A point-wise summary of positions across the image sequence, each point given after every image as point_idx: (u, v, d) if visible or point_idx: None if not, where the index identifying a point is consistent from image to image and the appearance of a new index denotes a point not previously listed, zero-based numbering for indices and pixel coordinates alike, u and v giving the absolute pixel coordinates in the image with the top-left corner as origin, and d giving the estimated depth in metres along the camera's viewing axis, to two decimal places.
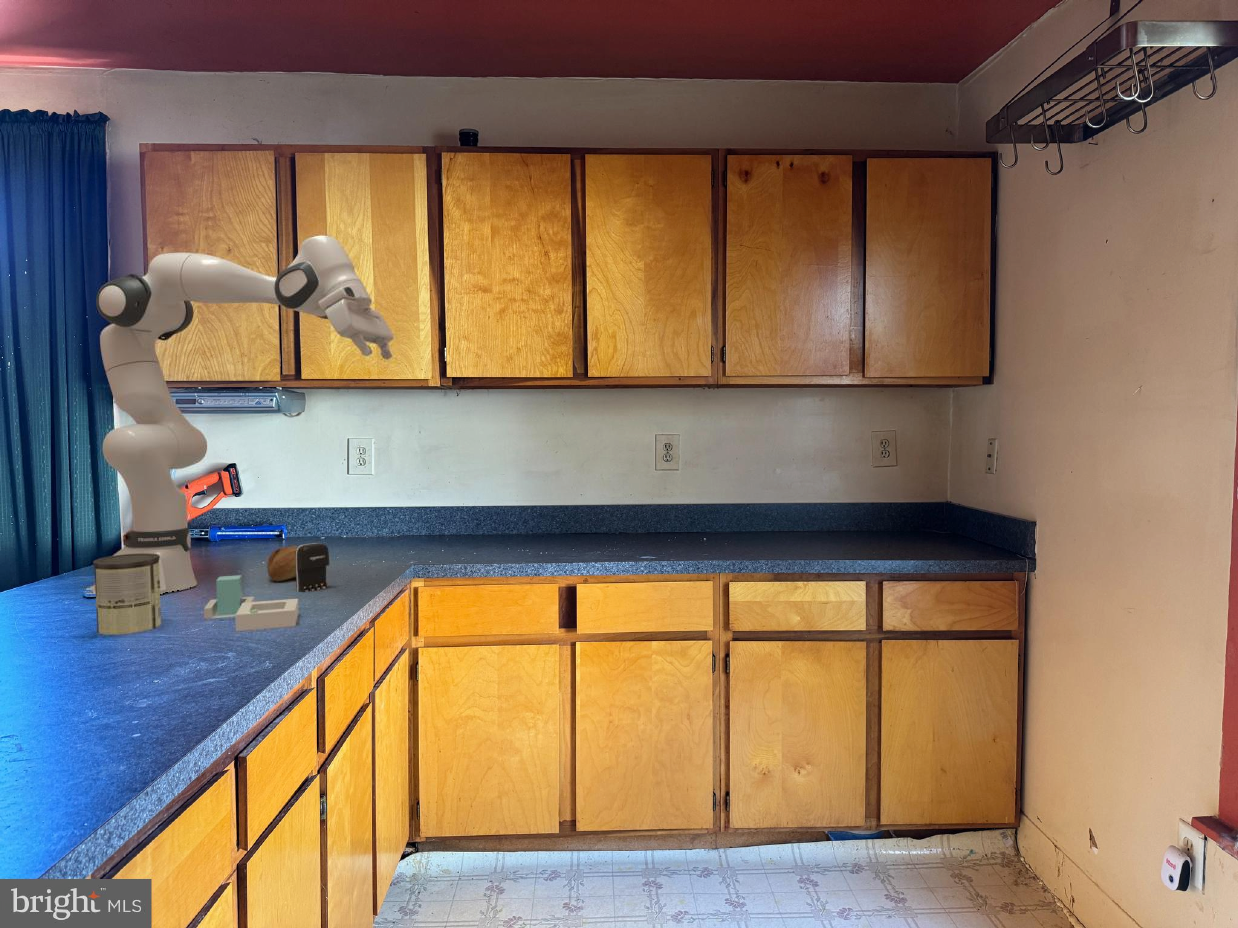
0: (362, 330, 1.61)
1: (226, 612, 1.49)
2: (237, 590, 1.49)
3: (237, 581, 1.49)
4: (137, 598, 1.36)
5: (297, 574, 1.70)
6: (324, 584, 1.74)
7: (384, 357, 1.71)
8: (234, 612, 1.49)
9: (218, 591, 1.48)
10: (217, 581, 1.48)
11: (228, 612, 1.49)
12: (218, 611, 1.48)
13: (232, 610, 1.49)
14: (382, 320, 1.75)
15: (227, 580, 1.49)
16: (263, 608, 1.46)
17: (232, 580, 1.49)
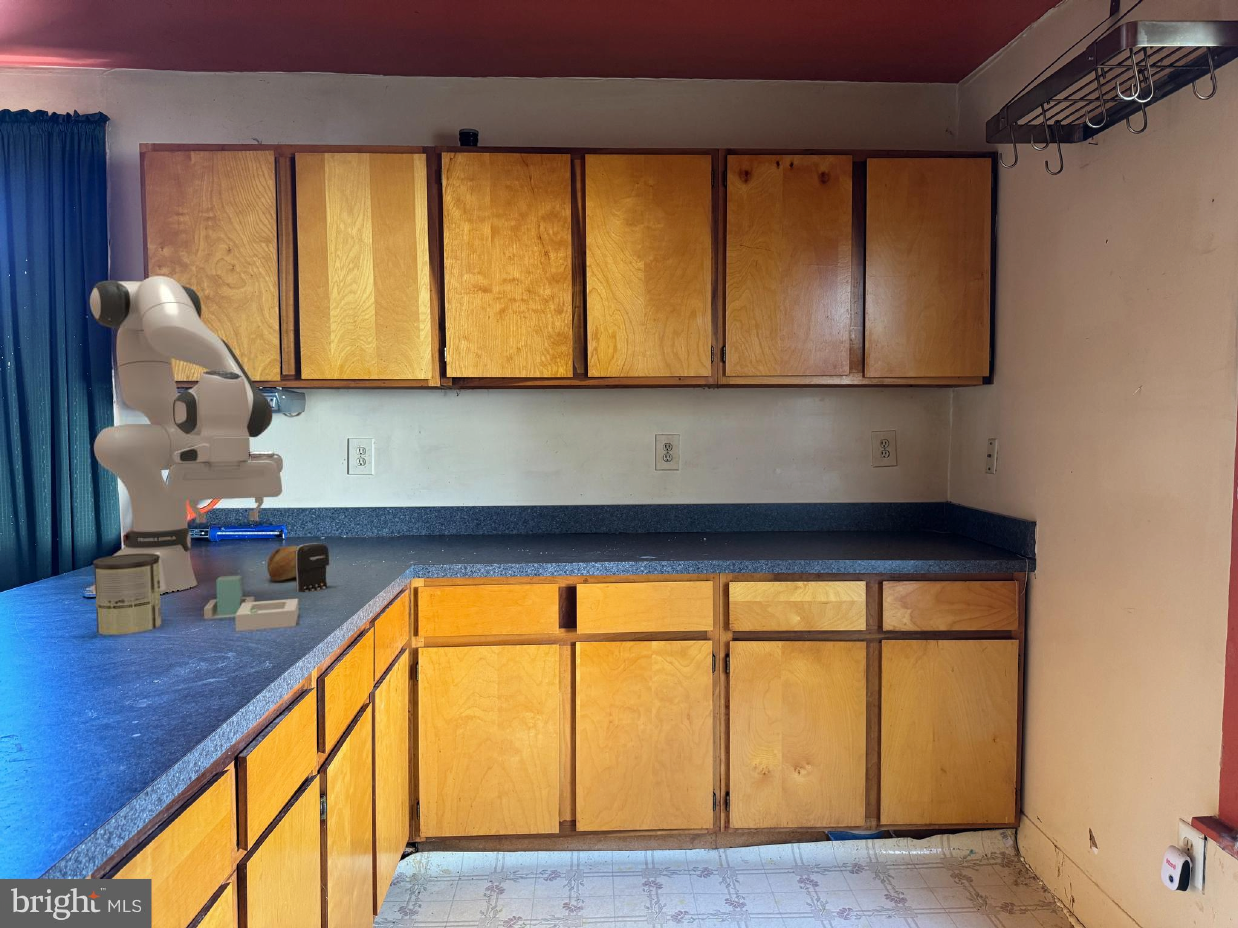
0: (194, 498, 1.46)
1: (226, 612, 1.49)
2: (237, 590, 1.49)
3: (237, 581, 1.49)
4: (137, 598, 1.36)
5: (297, 574, 1.70)
6: (324, 584, 1.74)
7: None
8: (234, 612, 1.49)
9: (218, 591, 1.48)
10: (217, 581, 1.48)
11: (228, 612, 1.49)
12: (218, 611, 1.48)
13: (232, 610, 1.49)
14: (269, 474, 1.51)
15: (227, 580, 1.49)
16: (263, 608, 1.46)
17: (232, 580, 1.49)
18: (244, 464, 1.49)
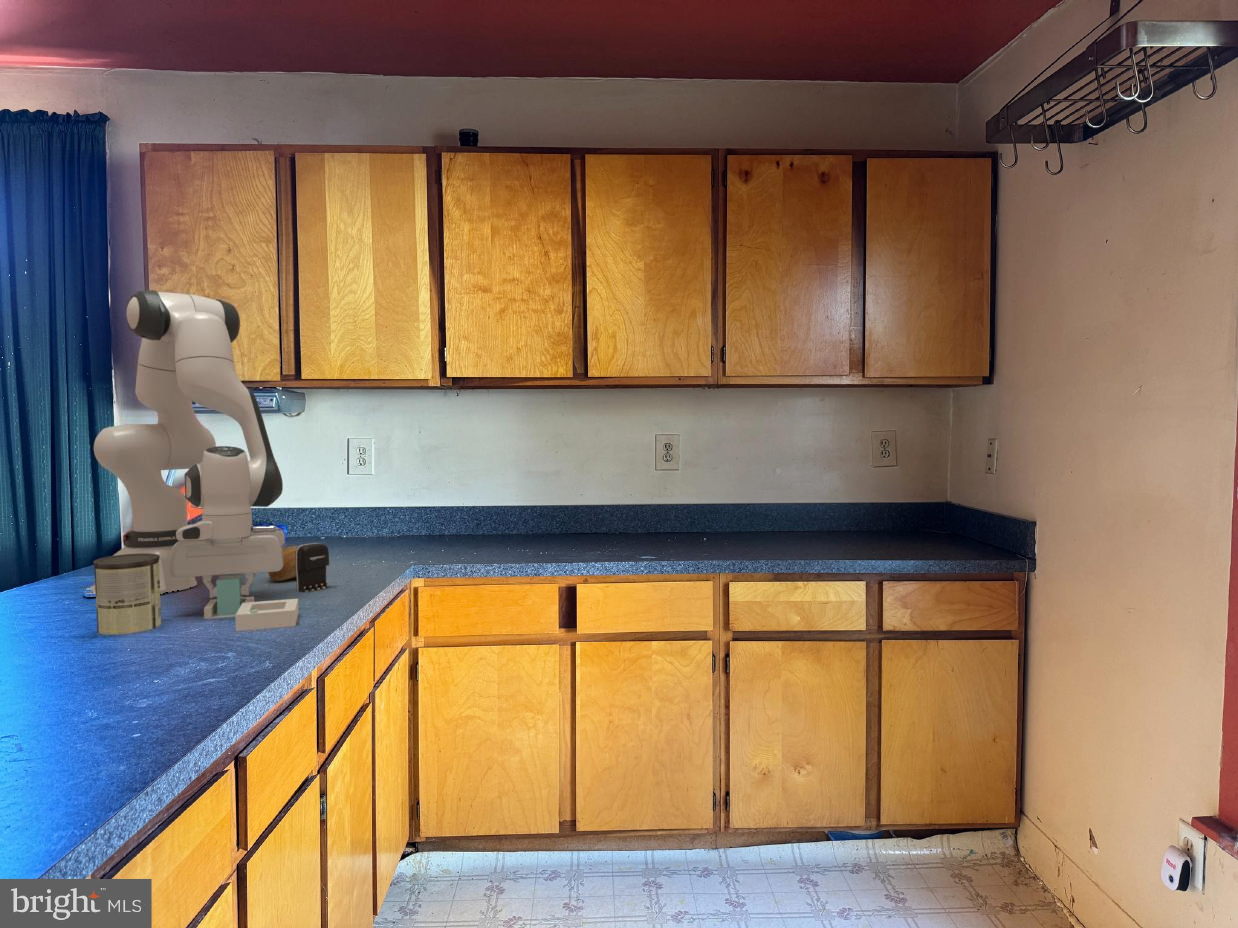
0: (196, 575, 1.47)
1: (226, 612, 1.49)
2: (237, 590, 1.49)
3: (237, 581, 1.49)
4: (137, 598, 1.36)
5: (297, 574, 1.70)
6: (324, 584, 1.74)
7: None
8: (234, 612, 1.49)
9: (218, 591, 1.48)
10: (217, 581, 1.48)
11: (228, 612, 1.49)
12: (218, 611, 1.48)
13: (232, 610, 1.49)
14: (271, 548, 1.51)
15: (227, 580, 1.49)
16: (263, 608, 1.46)
17: (232, 580, 1.49)
18: (246, 540, 1.50)
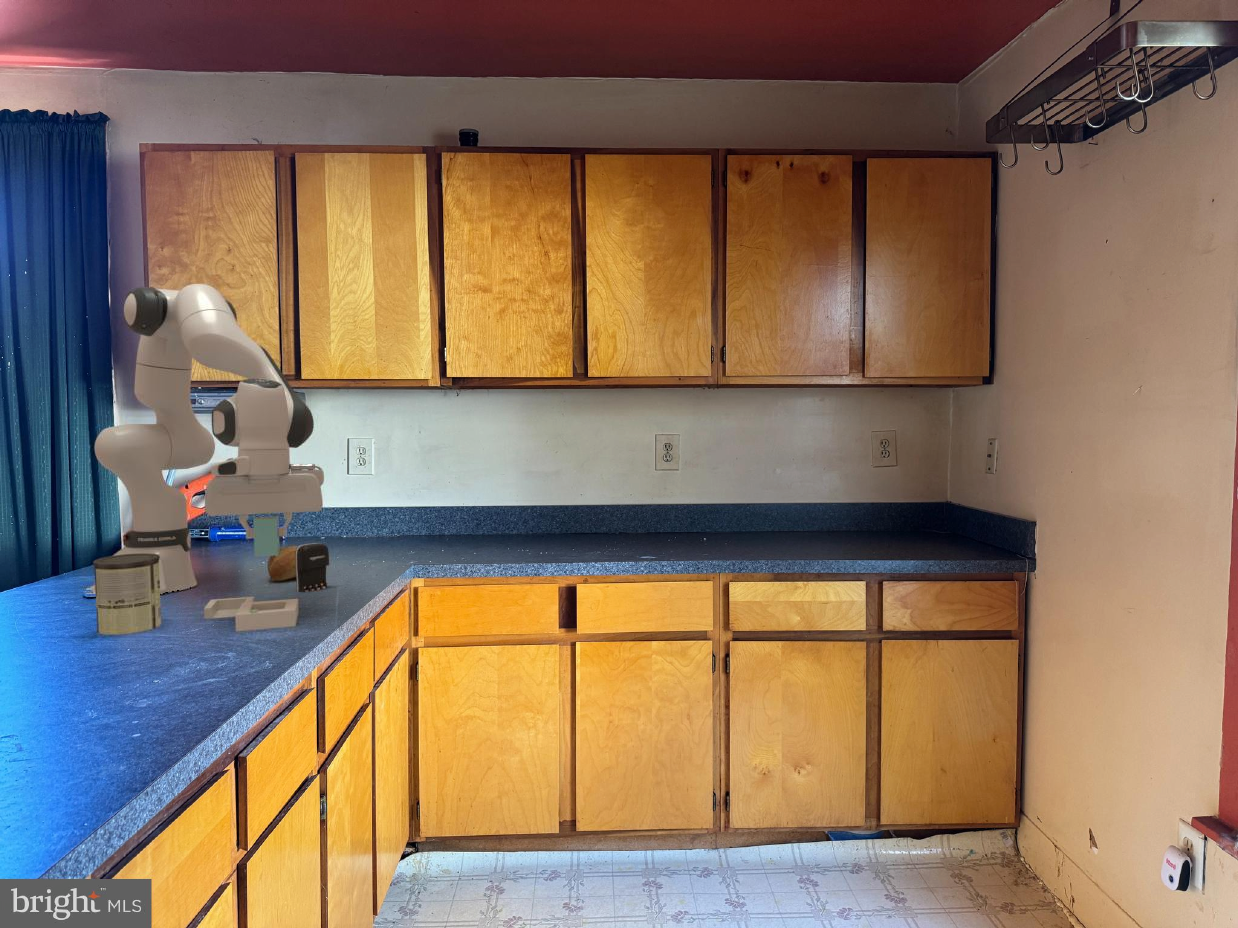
0: (232, 513, 1.39)
1: (263, 553, 1.41)
2: (275, 530, 1.41)
3: (275, 521, 1.41)
4: (137, 598, 1.36)
5: (297, 574, 1.70)
6: (324, 584, 1.74)
7: None
8: (272, 554, 1.41)
9: (255, 531, 1.40)
10: (254, 520, 1.40)
11: (266, 553, 1.41)
12: (255, 552, 1.40)
13: (270, 552, 1.41)
14: (310, 487, 1.43)
15: (264, 519, 1.40)
16: (263, 608, 1.46)
17: (270, 519, 1.41)
18: (284, 477, 1.41)
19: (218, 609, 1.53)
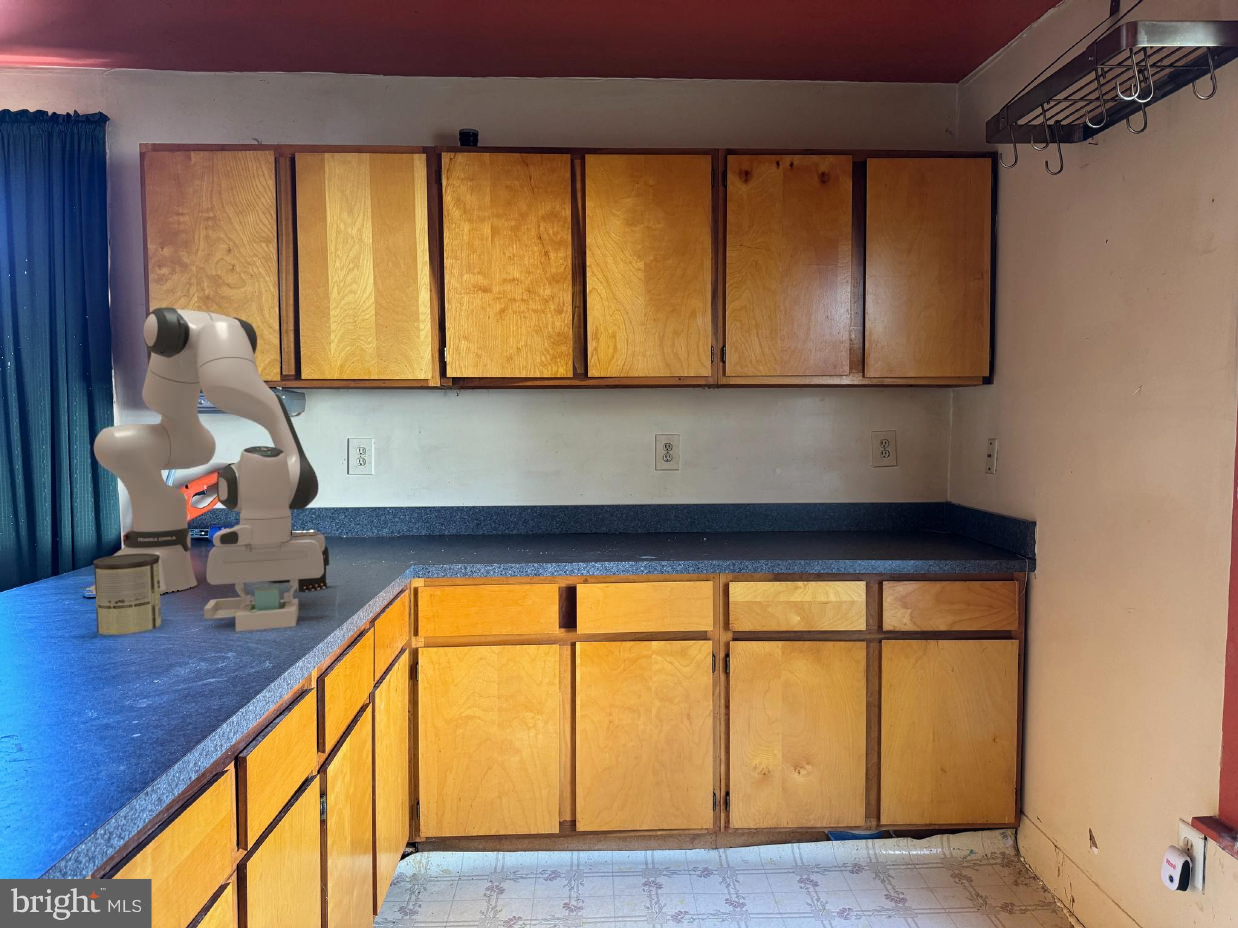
0: (234, 582, 1.40)
1: None
2: (276, 601, 1.42)
3: (276, 592, 1.42)
4: (137, 598, 1.36)
5: None
6: (324, 584, 1.74)
7: None
8: None
9: (256, 602, 1.41)
10: (255, 592, 1.41)
11: None
12: None
13: None
14: (312, 554, 1.44)
15: (266, 591, 1.41)
16: None
17: (271, 591, 1.41)
18: (286, 545, 1.42)
19: (218, 609, 1.53)
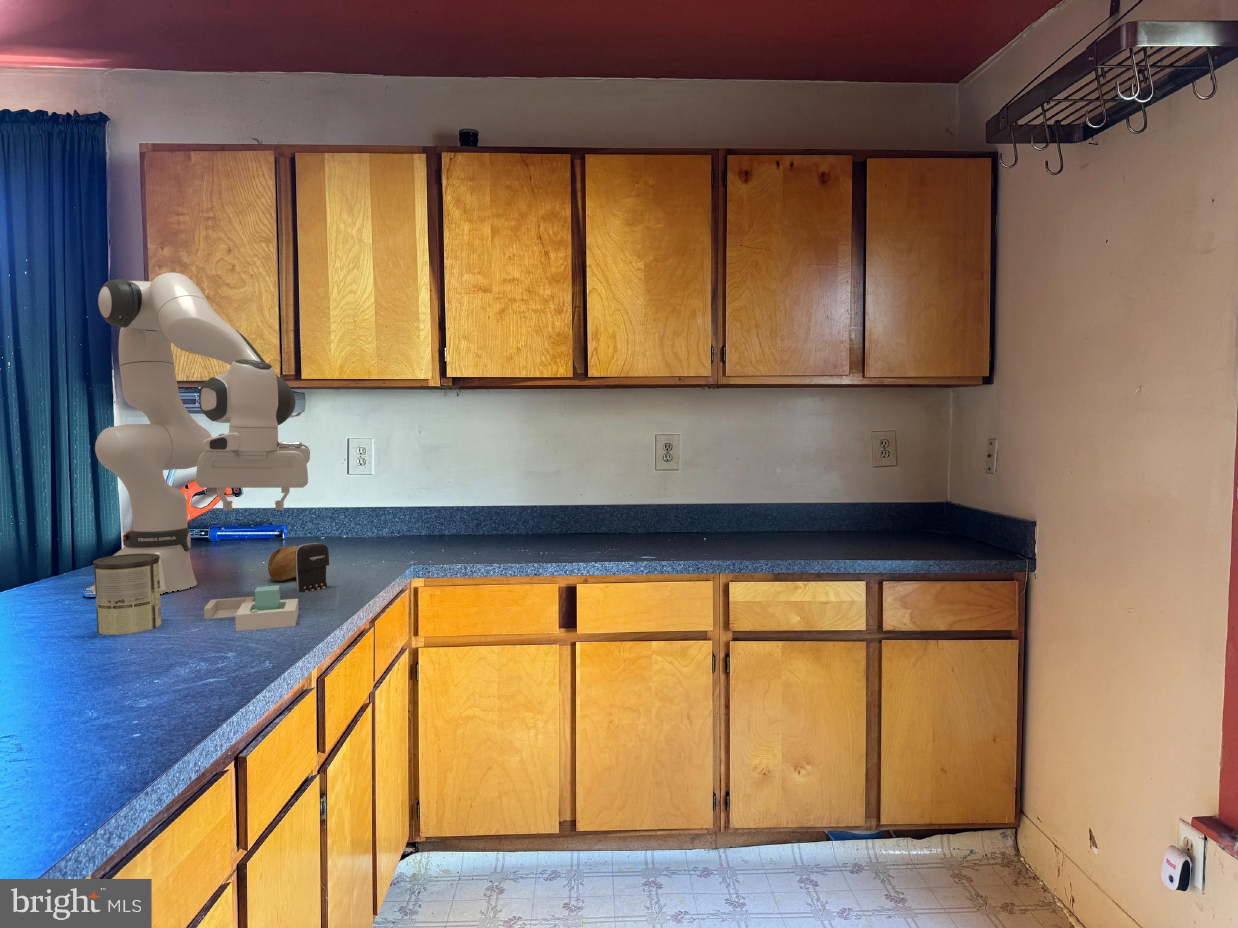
0: (222, 486, 1.47)
1: None
2: (276, 601, 1.42)
3: (276, 592, 1.42)
4: (137, 598, 1.36)
5: (297, 574, 1.70)
6: (324, 584, 1.74)
7: None
8: None
9: (256, 602, 1.41)
10: (255, 592, 1.41)
11: None
12: None
13: None
14: (297, 464, 1.51)
15: (266, 591, 1.41)
16: None
17: (271, 591, 1.41)
18: (272, 454, 1.50)
19: (218, 609, 1.53)
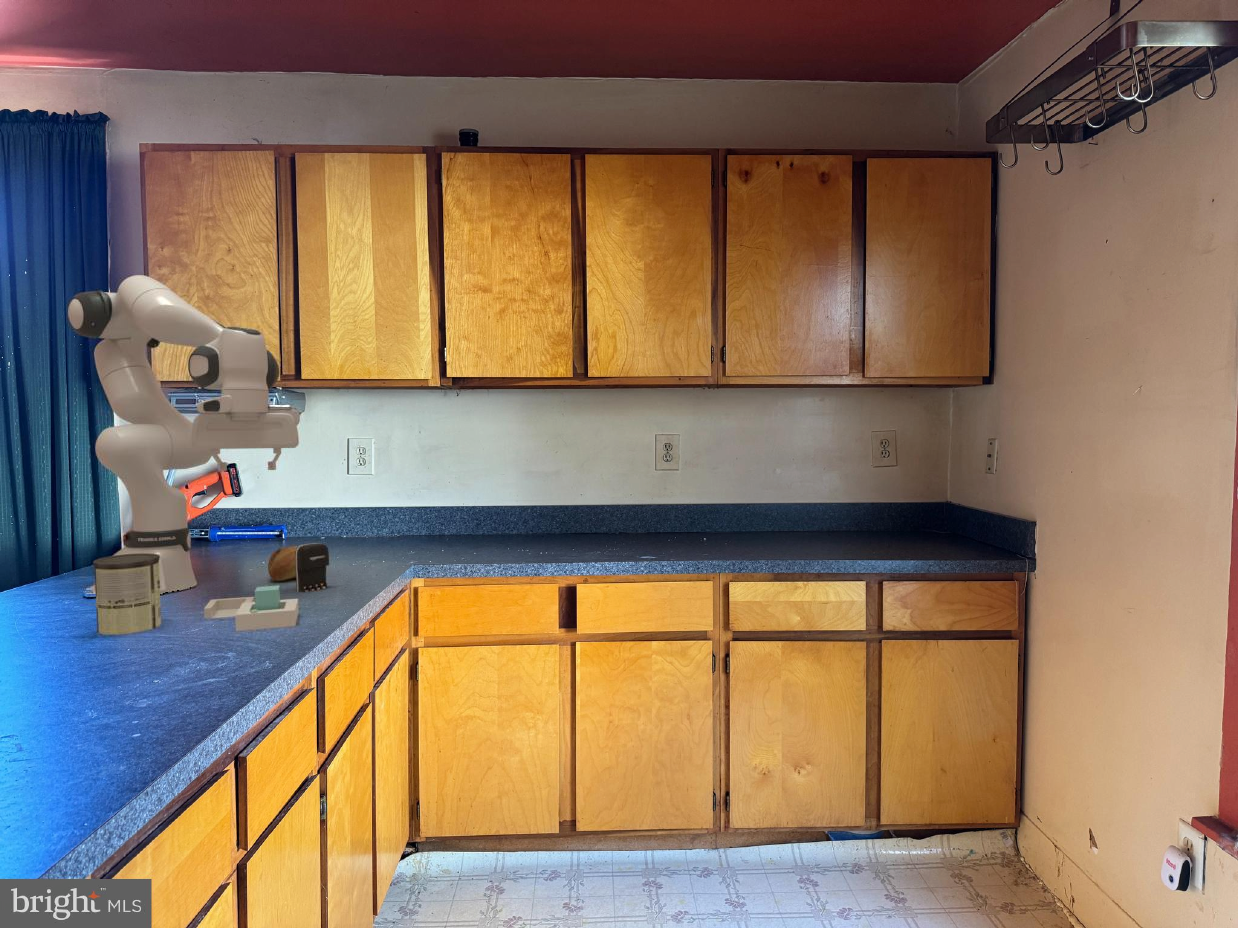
0: (216, 447, 1.54)
1: None
2: (276, 601, 1.42)
3: (276, 592, 1.42)
4: (137, 598, 1.36)
5: (297, 574, 1.70)
6: (324, 584, 1.74)
7: None
8: None
9: (256, 602, 1.41)
10: (255, 592, 1.41)
11: None
12: None
13: None
14: (287, 426, 1.59)
15: (266, 591, 1.41)
16: None
17: (271, 591, 1.41)
18: (263, 416, 1.57)
19: (218, 609, 1.53)
